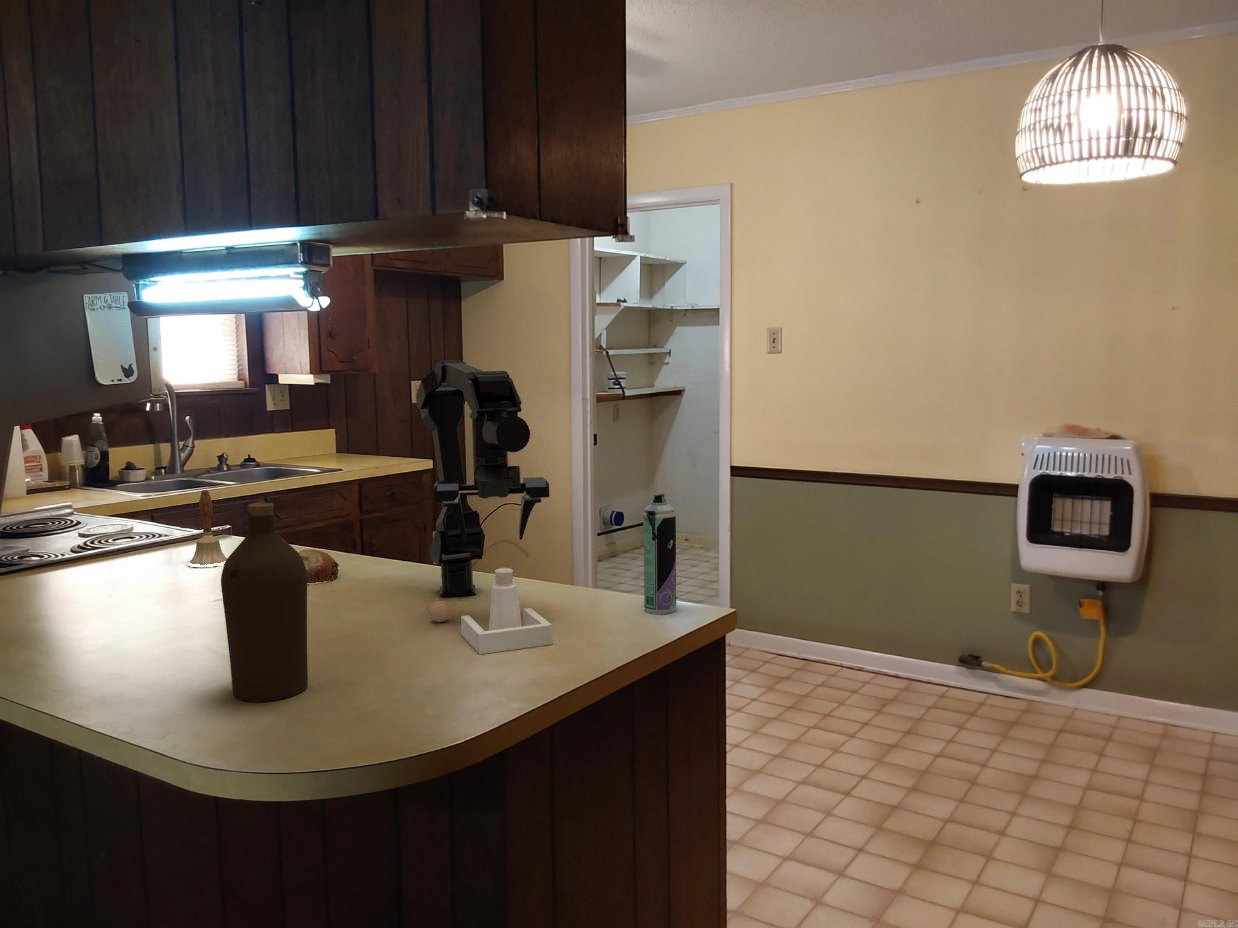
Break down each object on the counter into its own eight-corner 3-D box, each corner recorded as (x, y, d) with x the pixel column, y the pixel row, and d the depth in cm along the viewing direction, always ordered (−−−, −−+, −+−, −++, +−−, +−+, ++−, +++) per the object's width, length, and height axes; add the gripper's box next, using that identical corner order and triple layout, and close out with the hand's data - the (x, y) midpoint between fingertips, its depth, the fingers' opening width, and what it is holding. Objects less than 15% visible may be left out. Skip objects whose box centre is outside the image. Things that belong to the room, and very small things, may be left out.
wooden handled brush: (238, 561, 207) (234, 488, 205) (207, 569, 200) (202, 494, 198) (210, 558, 211) (205, 486, 209) (178, 566, 203) (174, 491, 201)
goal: (461, 634, 151) (461, 616, 151) (530, 625, 156) (530, 607, 155) (479, 654, 142) (478, 634, 141) (552, 644, 146) (552, 624, 146)
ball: (430, 619, 160) (429, 598, 160) (451, 618, 161) (450, 597, 161) (429, 625, 157) (429, 604, 157) (451, 623, 158) (450, 603, 157)
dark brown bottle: (302, 702, 123) (291, 509, 120) (216, 706, 122) (204, 512, 119) (320, 674, 133) (311, 497, 130) (242, 677, 133) (231, 498, 130)
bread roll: (293, 593, 194) (273, 560, 192) (340, 567, 197) (320, 534, 195) (298, 605, 185) (277, 570, 182) (346, 577, 188) (326, 543, 186)
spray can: (673, 614, 161) (673, 497, 159) (641, 613, 162) (640, 496, 160) (678, 606, 167) (677, 492, 164) (647, 605, 168) (646, 491, 165)
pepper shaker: (490, 633, 152) (488, 565, 150) (524, 633, 152) (523, 565, 150) (486, 644, 146) (483, 573, 145) (521, 643, 146) (519, 573, 145)
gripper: (431, 454, 149) (435, 553, 150) (552, 450, 152) (554, 547, 154) (432, 447, 160) (436, 539, 161) (544, 443, 163) (547, 534, 165)
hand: (493, 540), depth 160 cm, fingers open, 9 cm apart
